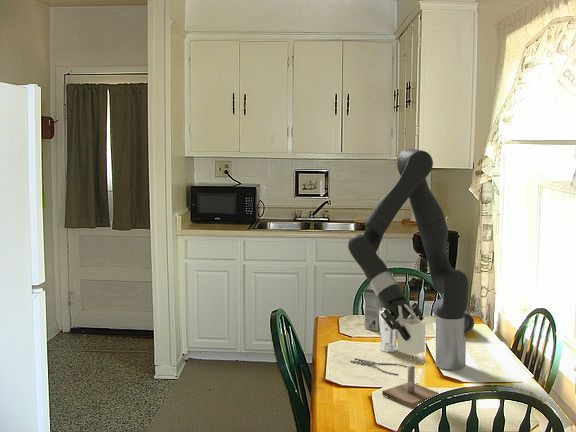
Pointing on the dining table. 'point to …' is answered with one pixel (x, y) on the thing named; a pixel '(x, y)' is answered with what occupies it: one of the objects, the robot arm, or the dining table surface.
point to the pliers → (376, 363)
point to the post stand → (409, 391)
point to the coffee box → (372, 310)
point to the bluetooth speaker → (467, 317)
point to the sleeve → (413, 337)
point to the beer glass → (387, 335)
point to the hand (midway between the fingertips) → (415, 337)
